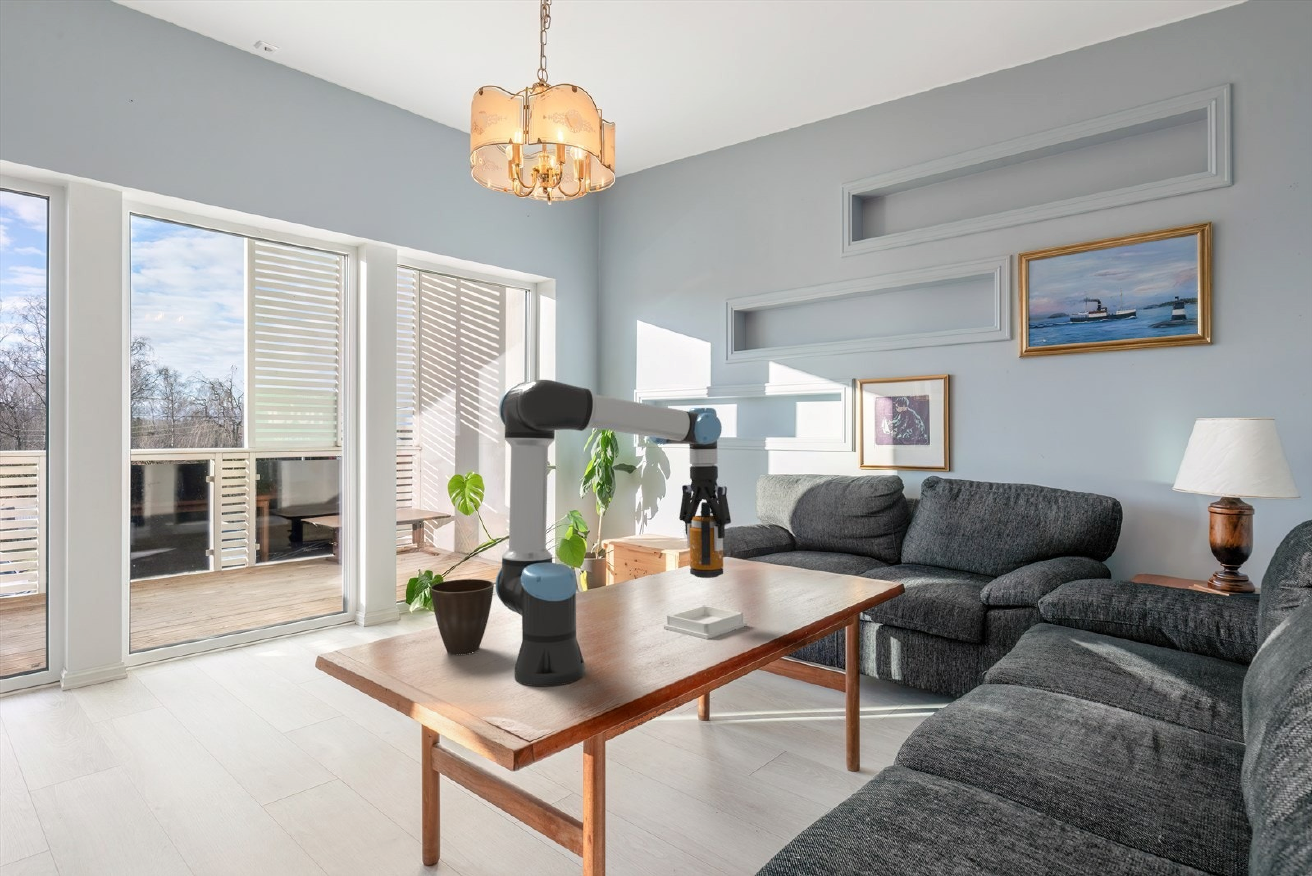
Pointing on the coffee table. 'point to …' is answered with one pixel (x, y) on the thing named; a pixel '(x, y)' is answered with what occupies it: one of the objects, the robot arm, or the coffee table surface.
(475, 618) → the plant pot
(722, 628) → the tray
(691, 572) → the canister
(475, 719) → the coffee table surface
